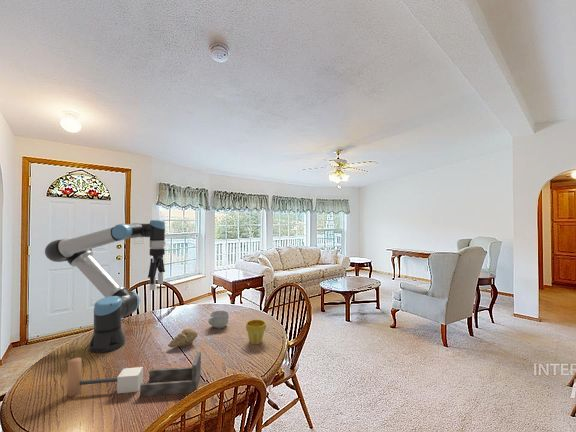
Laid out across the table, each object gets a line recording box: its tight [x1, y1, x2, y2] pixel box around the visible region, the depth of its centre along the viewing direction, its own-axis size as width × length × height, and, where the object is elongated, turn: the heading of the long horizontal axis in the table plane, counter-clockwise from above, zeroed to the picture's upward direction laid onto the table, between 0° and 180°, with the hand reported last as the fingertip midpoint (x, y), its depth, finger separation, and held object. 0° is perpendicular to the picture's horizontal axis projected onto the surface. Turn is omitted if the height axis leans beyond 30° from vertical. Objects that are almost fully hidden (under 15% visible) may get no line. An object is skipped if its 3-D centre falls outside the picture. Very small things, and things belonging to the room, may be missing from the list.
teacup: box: [208, 310, 230, 329], centre depth 166 cm, size 14×11×8 cm
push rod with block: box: [66, 357, 144, 397], centre depth 105 cm, size 24×6×12 cm, turn 101°
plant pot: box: [245, 319, 267, 345], centre depth 147 cm, size 10×10×10 cm
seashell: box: [167, 328, 199, 348], centre depth 141 cm, size 14×8×8 cm, turn 141°
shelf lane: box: [139, 351, 202, 397], centre depth 108 cm, size 20×10×10 cm, turn 98°
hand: (156, 286), depth 154 cm, fingers open, 13 cm apart
